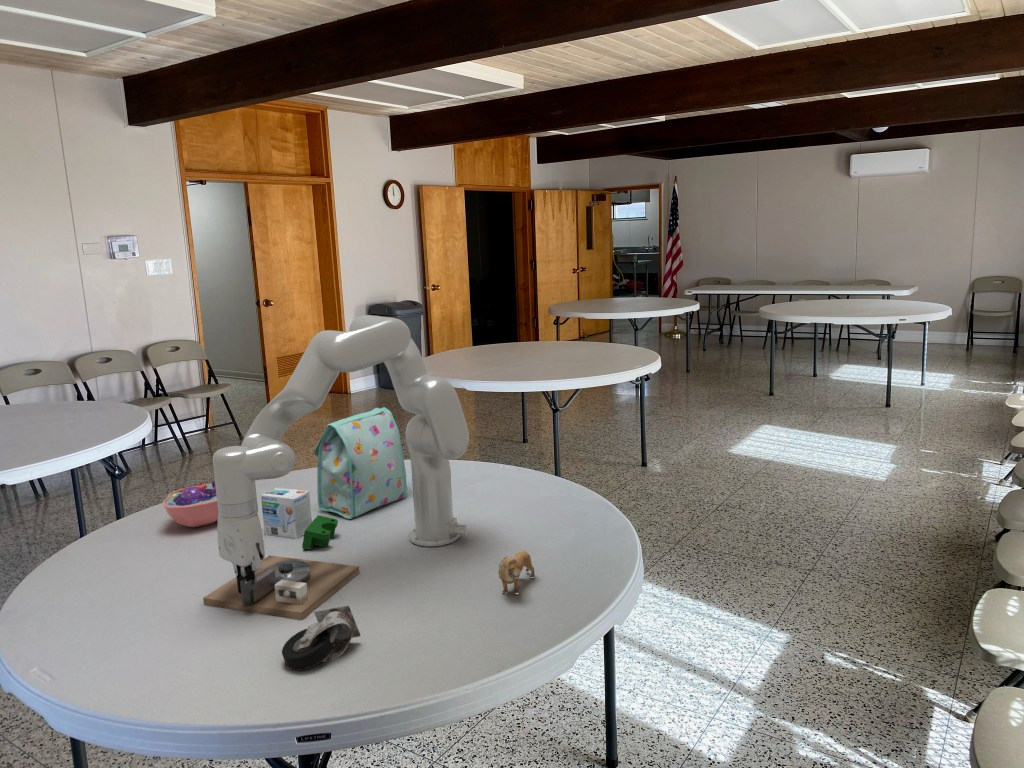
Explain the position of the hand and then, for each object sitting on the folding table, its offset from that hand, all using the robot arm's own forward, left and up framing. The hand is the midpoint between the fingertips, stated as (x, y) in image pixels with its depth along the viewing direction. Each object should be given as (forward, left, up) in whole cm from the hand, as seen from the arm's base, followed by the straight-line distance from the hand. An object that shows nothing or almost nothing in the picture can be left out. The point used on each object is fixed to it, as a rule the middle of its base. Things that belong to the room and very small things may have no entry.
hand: (247, 591), depth 154 cm
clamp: (+3, -32, -3) cm, 32 cm away
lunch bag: (+7, -59, -3) cm, 59 cm away
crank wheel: (-3, -5, -1) cm, 6 cm away
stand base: (-3, -8, -3) cm, 9 cm away
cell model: (+44, -36, -3) cm, 57 cm away
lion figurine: (-52, -21, -3) cm, 56 cm away
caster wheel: (-26, +14, -3) cm, 30 cm away
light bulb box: (+16, -36, -3) cm, 39 cm away
